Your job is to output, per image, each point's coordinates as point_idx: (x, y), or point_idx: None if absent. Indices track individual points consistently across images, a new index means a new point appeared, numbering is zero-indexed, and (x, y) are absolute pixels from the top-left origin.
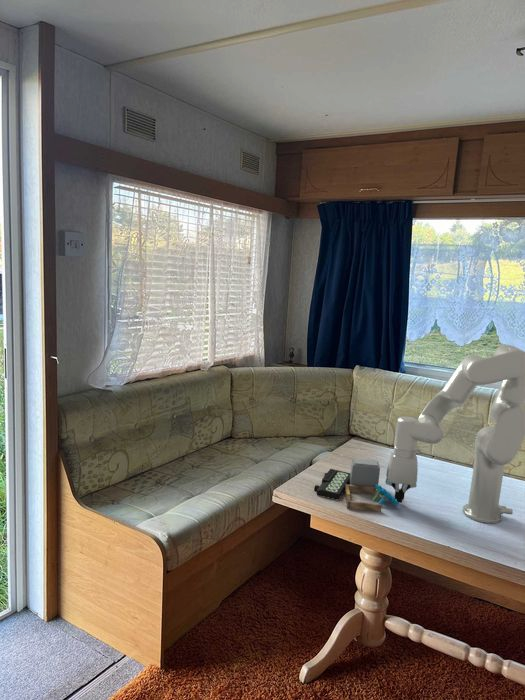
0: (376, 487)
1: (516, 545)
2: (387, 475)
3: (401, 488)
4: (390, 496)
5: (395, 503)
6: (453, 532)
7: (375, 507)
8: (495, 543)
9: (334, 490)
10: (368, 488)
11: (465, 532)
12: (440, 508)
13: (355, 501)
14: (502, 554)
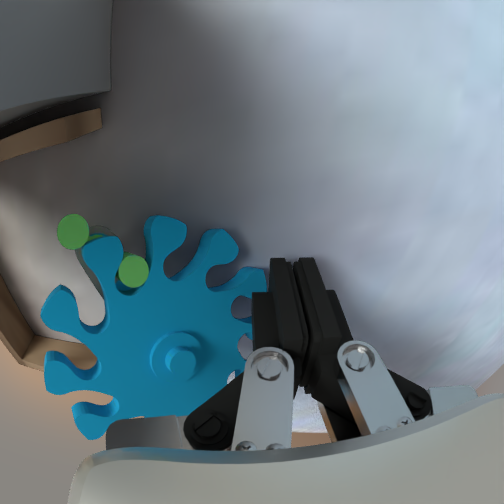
0: (50, 320)
1: (493, 371)
2: (84, 472)
3: (326, 383)
4: (198, 403)
5: (248, 335)
6: None
7: None
8: (466, 384)
9: None
10: (13, 156)
11: (445, 377)
12: (499, 251)
13: (37, 365)
14: None
